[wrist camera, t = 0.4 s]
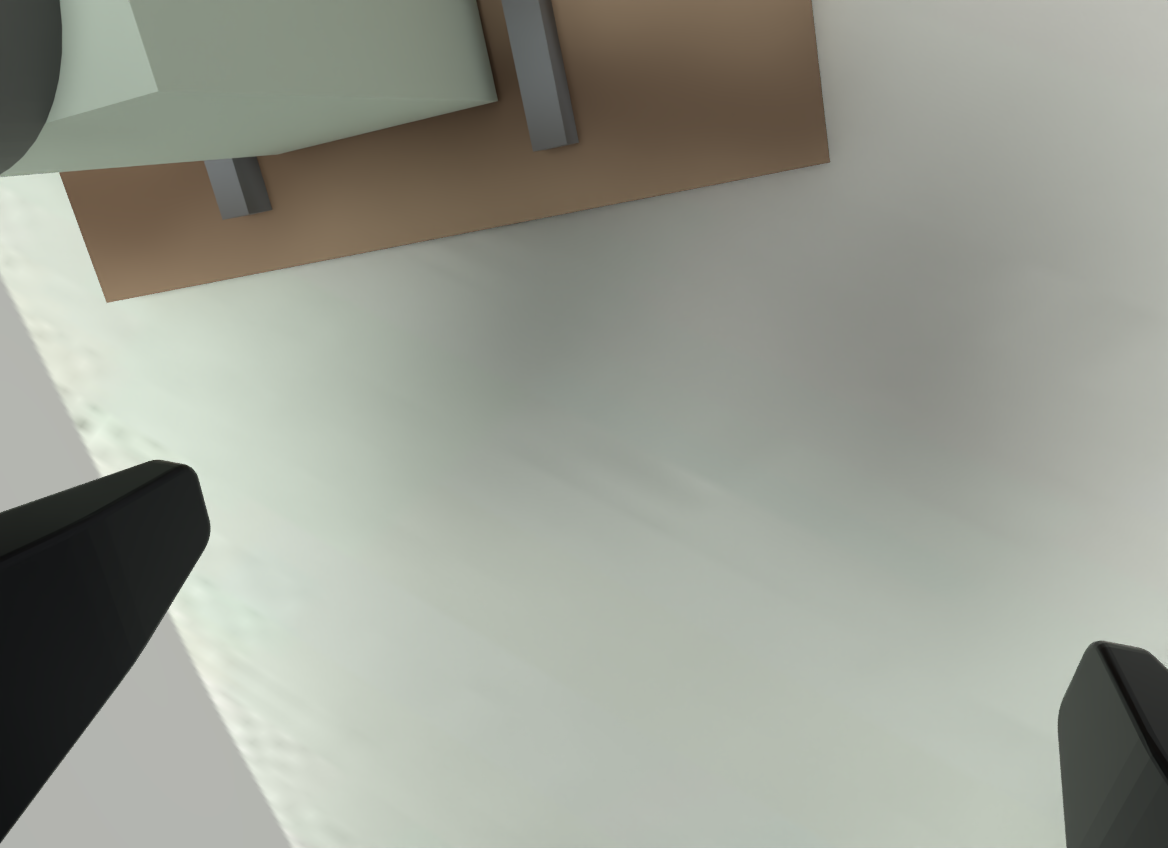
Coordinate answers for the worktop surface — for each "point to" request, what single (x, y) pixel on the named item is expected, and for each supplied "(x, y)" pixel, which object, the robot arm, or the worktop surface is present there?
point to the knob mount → (488, 145)
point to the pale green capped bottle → (224, 76)
